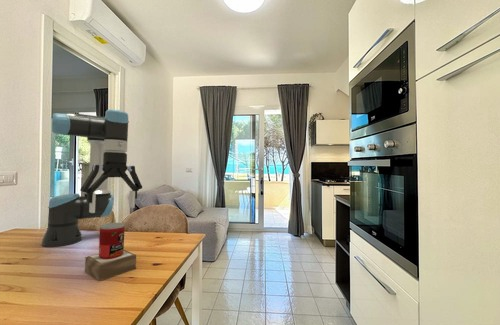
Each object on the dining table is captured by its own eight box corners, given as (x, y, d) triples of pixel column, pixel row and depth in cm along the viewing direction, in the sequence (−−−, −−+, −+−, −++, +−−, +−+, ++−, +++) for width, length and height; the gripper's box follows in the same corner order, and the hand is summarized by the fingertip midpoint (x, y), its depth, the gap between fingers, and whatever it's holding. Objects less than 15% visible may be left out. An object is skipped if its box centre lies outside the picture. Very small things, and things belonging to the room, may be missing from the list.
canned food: (112, 260, 77) (113, 228, 78) (92, 258, 79) (94, 226, 80) (128, 252, 85) (129, 223, 85) (110, 250, 87) (111, 221, 87)
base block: (84, 271, 80) (85, 256, 81) (120, 260, 90) (120, 247, 90) (99, 281, 73) (100, 265, 74) (135, 268, 83) (136, 254, 83)
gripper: (79, 148, 71) (76, 216, 70) (152, 154, 92) (150, 206, 91) (70, 149, 76) (67, 213, 75) (142, 154, 96) (140, 204, 95)
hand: (113, 209), depth 83 cm, fingers open, 13 cm apart
